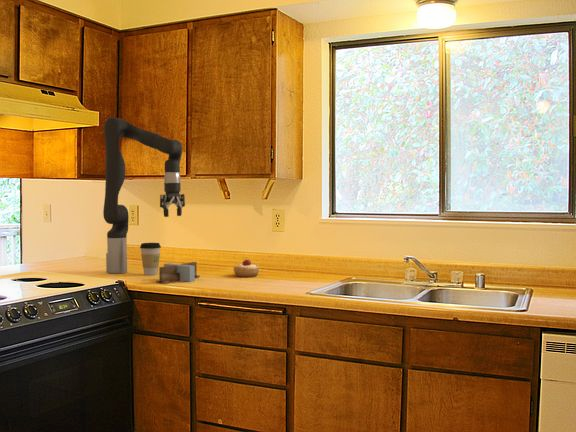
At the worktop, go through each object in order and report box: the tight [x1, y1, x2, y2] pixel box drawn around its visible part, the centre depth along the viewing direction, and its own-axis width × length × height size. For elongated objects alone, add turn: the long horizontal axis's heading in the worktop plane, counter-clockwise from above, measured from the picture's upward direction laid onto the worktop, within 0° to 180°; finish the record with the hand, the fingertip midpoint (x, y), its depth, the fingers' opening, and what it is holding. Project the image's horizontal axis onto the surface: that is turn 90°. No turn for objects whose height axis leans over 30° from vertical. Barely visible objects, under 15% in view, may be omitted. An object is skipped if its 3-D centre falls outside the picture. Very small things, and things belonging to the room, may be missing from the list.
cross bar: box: [163, 262, 196, 283], centre depth 281 cm, size 16×3×7 cm, turn 56°
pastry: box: [233, 257, 260, 278], centre depth 294 cm, size 12×12×9 cm
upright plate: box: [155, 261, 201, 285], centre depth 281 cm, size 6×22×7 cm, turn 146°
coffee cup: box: [139, 242, 162, 277], centre depth 298 cm, size 10×10×15 cm
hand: (172, 216), depth 294 cm, fingers open, 8 cm apart
